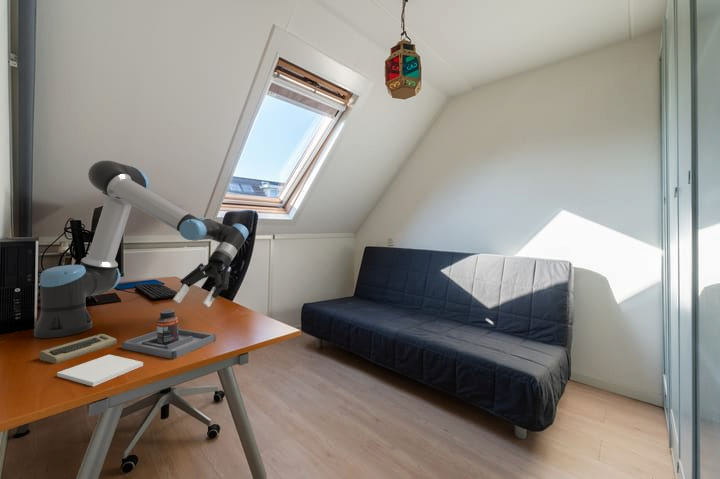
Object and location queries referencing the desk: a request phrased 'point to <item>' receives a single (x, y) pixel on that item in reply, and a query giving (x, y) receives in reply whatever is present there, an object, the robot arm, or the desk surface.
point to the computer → (76, 348)
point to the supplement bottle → (167, 328)
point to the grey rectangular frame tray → (174, 350)
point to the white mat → (100, 370)
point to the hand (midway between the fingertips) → (190, 303)
